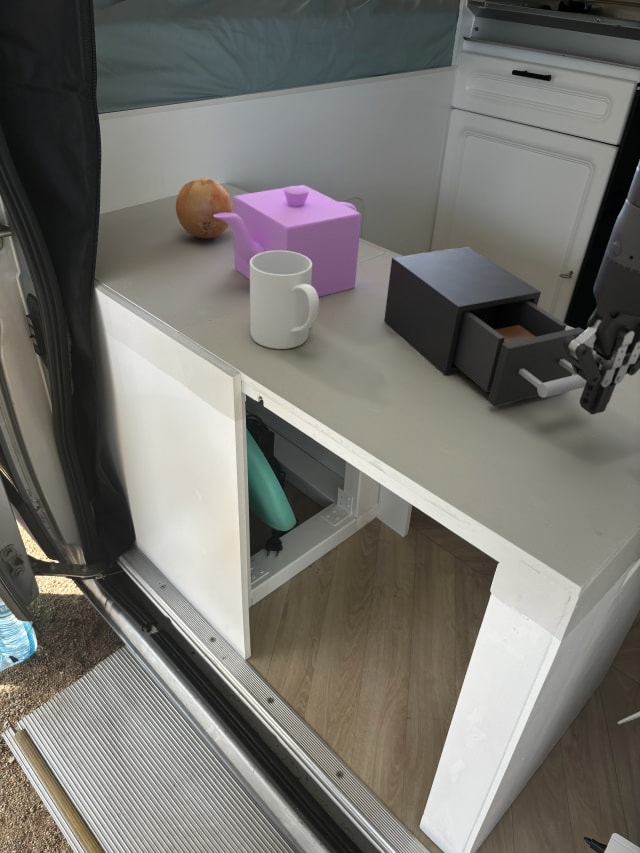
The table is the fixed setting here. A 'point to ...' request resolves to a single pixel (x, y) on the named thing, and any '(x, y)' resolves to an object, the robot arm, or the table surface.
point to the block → (514, 333)
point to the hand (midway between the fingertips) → (591, 408)
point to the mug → (281, 299)
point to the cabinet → (446, 298)
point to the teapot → (298, 233)
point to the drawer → (516, 353)
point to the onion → (203, 207)
